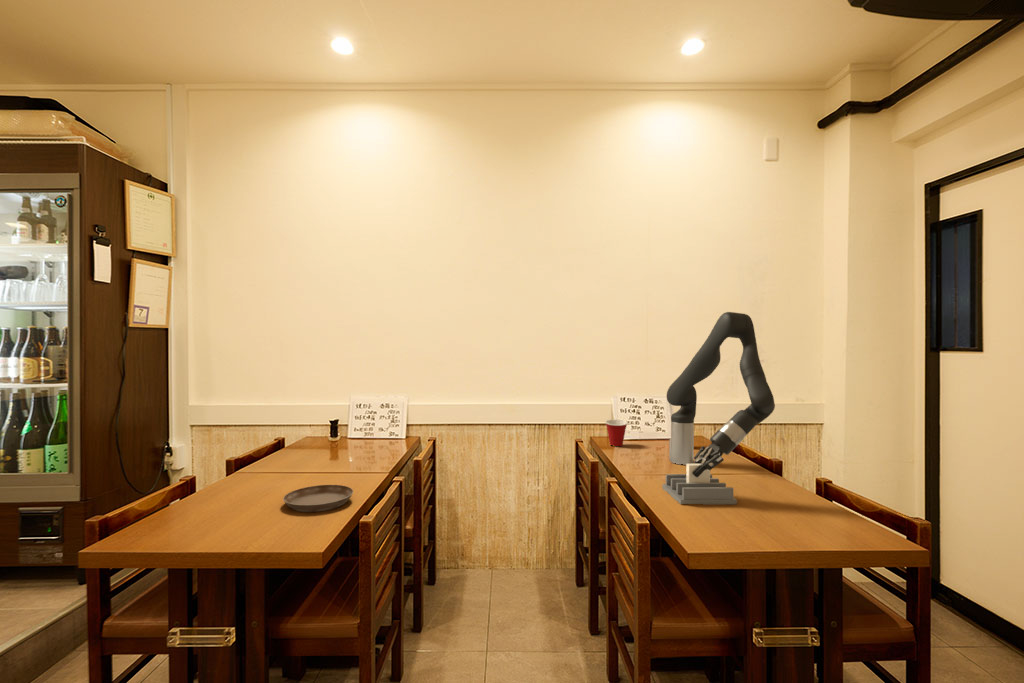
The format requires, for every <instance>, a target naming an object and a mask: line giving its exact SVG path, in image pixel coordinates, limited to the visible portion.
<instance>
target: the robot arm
mask: <svg viewBox="0 0 1024 683" xmlns="http://www.w3.org/2000/svg"><path fill="white" fill-rule="evenodd" d="M754 326H755V325H754V321H753V319H752V318H751V317H750V315H748V314H747V313H742V312H741V313H740V312H734V311H727V312H723V313H722V314H721V315H720V316H719V318H718V319H717V320H716V322H715V324H714V326H713V327H712V329H711V330H710V333H709V335H708V336H707V338H706V340H705V341H704V342H703V344H702V345H701V347H700V348H699V349H698V350H697V352H696V353H695V354H694V356H693V357H692V359H691V360H690V362H689V363H688V365H687V366H686V367H685V368H684V370H683V371H682V372H681V374H680V375H679V376H678V377H677V378H676V379H675V380H674V381H673V382H672V383H671V384H670V386H669V387H668V388H667V391H666V400H667V402H668V404H670V405H671V406H673V407H674V406H676V407H680V408H679V409H678V410H677V411H676V412H674V413H672V414H671V416H670V438H669V444H668V445H669V446H668V447H669V448H668V449H669V453H668V455H669V456H668V458H669V461H670V463H672V464H675V463H676V464H677V465H681V464H683V466H684V465H685V466H686V464H700V465H701V466H700V465H699V466H698V467H697V468H696V469H695V470H694V471H693V472H692V474H693V475H694V476H695V477H699V476H700V475H701V474H702V473H703V471H704V470H707V469H708V470H710V471H711V470H712V469H714V468H715V467H717V466H719V464H721V463H722V462H724V458H723V455H724V454H725V455H727V456H728V455H730V454H731V452H733V450H735V448H736V447H737V446H738V445H740V443H741V442H743V440H744V439H745V437H746V436H747V435H748V434H749V433H750V432H751V431H752V430H753V429H754V428H755V427H756V426H757V425H758V424H761V422H763V421H764V420H766V419H767V418H768V417H769V416H771V415H772V414H773V412H774V410H775V407H776V405H775V399H774V395H773V393H772V390H771V388H770V386H769V383H768V382H767V378H766V374H765V372H764V369H763V366H762V363H761V360H760V356H759V352H758V350H759V349H758V344H757V339H756V333H755V327H754ZM728 338H733V339H734V338H735V339H739V340H740V342H741V345H742V353H741V358H740V361H739V370H740V374H741V377H742V380H743V382H744V384H745V387H746V388H747V393H748V396H749V400H750V404H749V405H748V407H745V409H741V410H739V411H737V412H736V413H735V414H734V415H733V416H732V417H731V418H730V419H729V420H728V421H726V422H725V423H724V424H722V425H721V427H720V428H719V429H718V430H717V431H716V432H715V433H714V434H713V435H712V436H711V437H709V440H710V442H711V443H710V444H709V445H708V446H706V447H705V446H704V445H703V446H701V447H700V449H699V450H698V452H696V454H695V453H694V448H695V442H694V441H695V439H694V438H695V436H694V435H695V429H694V428H695V418H696V414H697V397H698V396H697V390H696V388H695V385H696V384H699V383H700V382H702V381H704V380H705V379H707V378H708V377H709V376H711V375H712V374H713V372H714V371H715V370H716V369H717V368H718V366H719V364H720V363H721V346H722V344H724V342H725V340H727V339H728ZM694 454H695V456H694Z"/></svg>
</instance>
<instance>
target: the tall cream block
mask: <svg viewBox="0 0 1024 683" xmlns="http://www.w3.org/2000/svg"><path fill="white" fill-rule="evenodd" d="M699 465H700V464H686V465H685V466H686V467H685V468H686V469H685V470H686V483H710V474H711V470H708V469H707V470H704V471H703V473H702V474H701V475H700V476H699V477H695V476H694V475H693V474H692V472H693V471H694V470H695V469H696V468H697V467H698V466H699ZM700 466H701V465H700Z"/></svg>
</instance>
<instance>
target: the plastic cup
mask: <svg viewBox="0 0 1024 683" xmlns="http://www.w3.org/2000/svg"><path fill="white" fill-rule="evenodd" d="M628 424H629V423H628V421H626V420H624V419H608V420H607V419H606V420H605V425H606V428H607V434H608V435H607V436H608V440H609V445H610V444H611V445H614V446H622V447H623V444H624V439H625V434H626V428H627V426H628Z"/></svg>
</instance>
